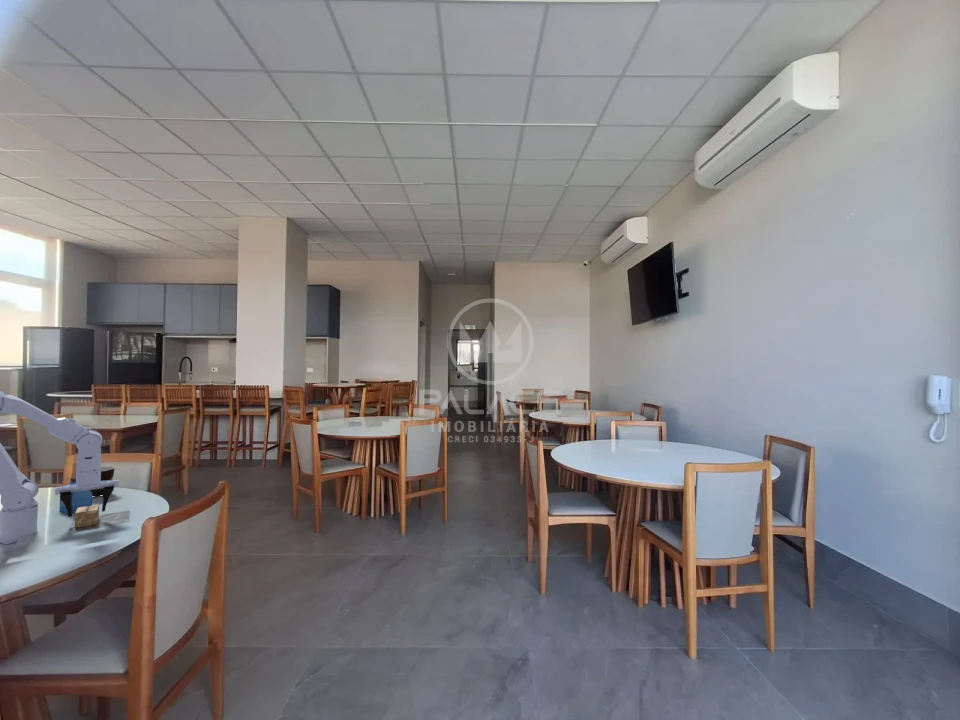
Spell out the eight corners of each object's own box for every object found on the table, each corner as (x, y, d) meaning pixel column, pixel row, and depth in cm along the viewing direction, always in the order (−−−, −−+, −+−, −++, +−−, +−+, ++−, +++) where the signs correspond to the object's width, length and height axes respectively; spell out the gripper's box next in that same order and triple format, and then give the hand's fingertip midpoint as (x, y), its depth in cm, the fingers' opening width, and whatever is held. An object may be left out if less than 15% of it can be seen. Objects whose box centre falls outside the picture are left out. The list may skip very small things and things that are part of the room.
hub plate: (67, 535, 124) (67, 522, 124) (73, 522, 134) (73, 510, 134) (128, 524, 133) (129, 512, 133) (129, 513, 143) (130, 501, 143)
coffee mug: (94, 491, 165) (95, 466, 166) (119, 491, 167) (120, 466, 167) (71, 501, 154) (72, 474, 154) (98, 500, 156) (99, 473, 156)
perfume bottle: (91, 511, 144) (92, 476, 145) (68, 517, 139) (69, 481, 139) (82, 508, 147) (83, 474, 147) (59, 513, 141) (60, 478, 142)
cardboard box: (74, 527, 127) (75, 512, 127) (77, 521, 132) (77, 506, 132) (96, 524, 131) (97, 509, 131) (98, 518, 135) (99, 503, 135)
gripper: (54, 476, 124) (52, 521, 124) (118, 469, 133) (117, 511, 133) (57, 471, 129) (56, 515, 129) (119, 465, 139) (118, 506, 138)
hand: (87, 513), depth 131 cm, fingers open, 7 cm apart
